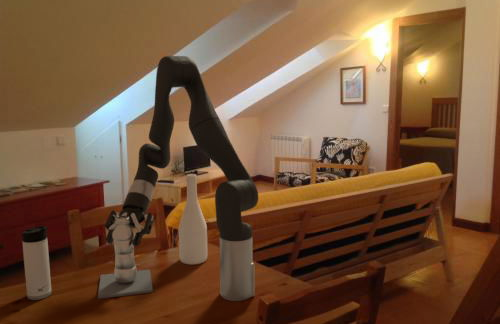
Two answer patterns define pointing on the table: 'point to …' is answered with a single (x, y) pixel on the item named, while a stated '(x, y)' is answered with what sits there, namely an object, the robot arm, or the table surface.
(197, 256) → the wine bottle
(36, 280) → the travel mug
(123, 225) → the plastic bottle
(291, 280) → the table surface
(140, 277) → the slate mat
